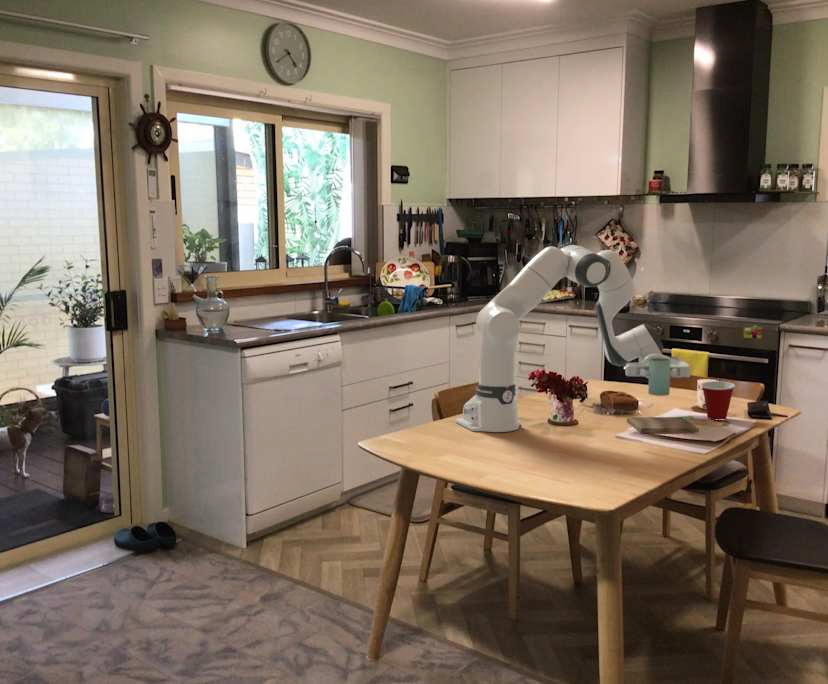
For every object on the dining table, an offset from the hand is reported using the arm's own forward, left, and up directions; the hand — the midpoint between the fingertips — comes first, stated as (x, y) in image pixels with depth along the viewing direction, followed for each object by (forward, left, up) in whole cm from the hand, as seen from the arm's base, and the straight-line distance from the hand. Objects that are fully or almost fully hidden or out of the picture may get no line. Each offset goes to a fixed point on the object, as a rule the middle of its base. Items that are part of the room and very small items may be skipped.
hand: (659, 373), depth 254 cm
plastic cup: (0, +27, -18) cm, 33 cm away
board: (0, +2, -17) cm, 18 cm away
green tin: (-1, +1, -6) cm, 7 cm away
